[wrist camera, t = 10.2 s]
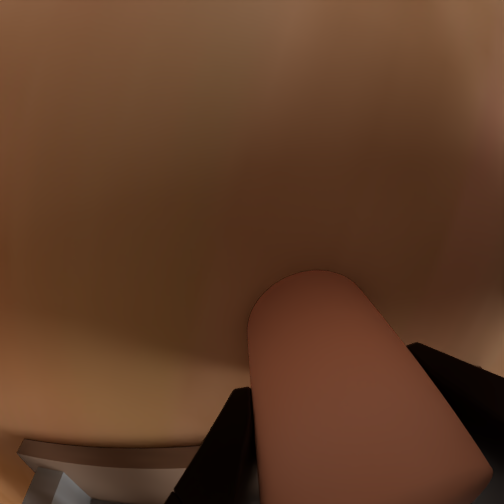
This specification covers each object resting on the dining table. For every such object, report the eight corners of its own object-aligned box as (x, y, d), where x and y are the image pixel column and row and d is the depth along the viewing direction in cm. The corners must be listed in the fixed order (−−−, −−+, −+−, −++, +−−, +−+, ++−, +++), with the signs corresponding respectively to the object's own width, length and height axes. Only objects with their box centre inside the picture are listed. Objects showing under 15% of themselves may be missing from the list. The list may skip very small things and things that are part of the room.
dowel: (365, 257, 9) (527, 424, 2) (369, 359, 10) (456, 522, 4) (233, 286, 9) (236, 531, 3) (260, 386, 10) (283, 577, 4)
